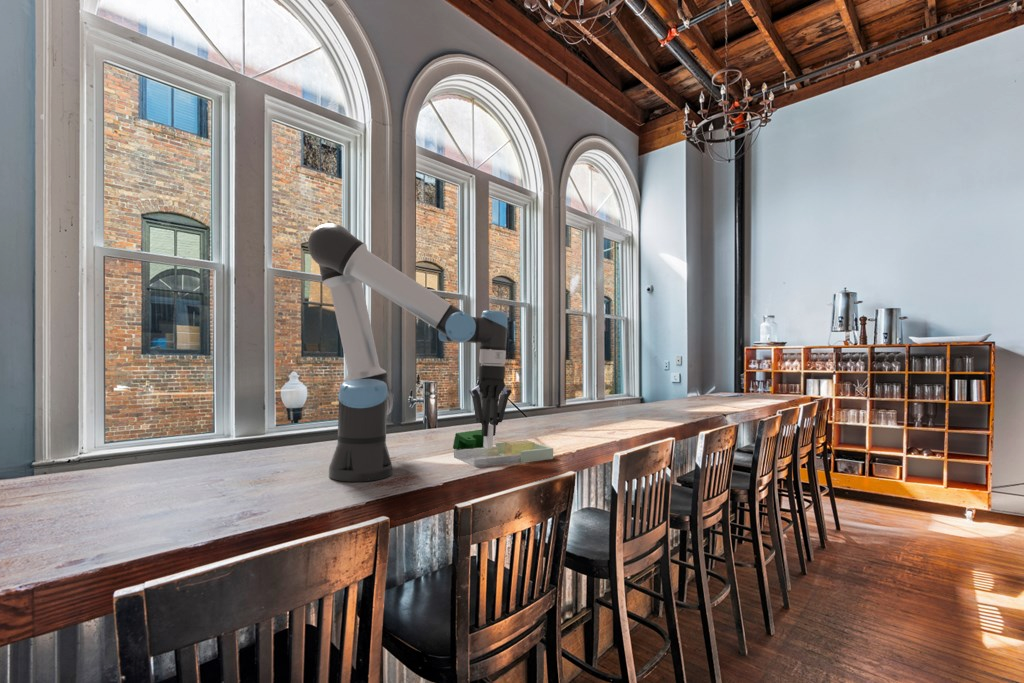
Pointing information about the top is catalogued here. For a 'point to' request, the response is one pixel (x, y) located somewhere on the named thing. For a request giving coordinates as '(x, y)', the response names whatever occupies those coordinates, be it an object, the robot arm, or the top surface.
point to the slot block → (485, 457)
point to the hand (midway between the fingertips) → (487, 447)
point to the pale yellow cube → (527, 445)
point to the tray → (530, 452)
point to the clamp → (468, 440)
